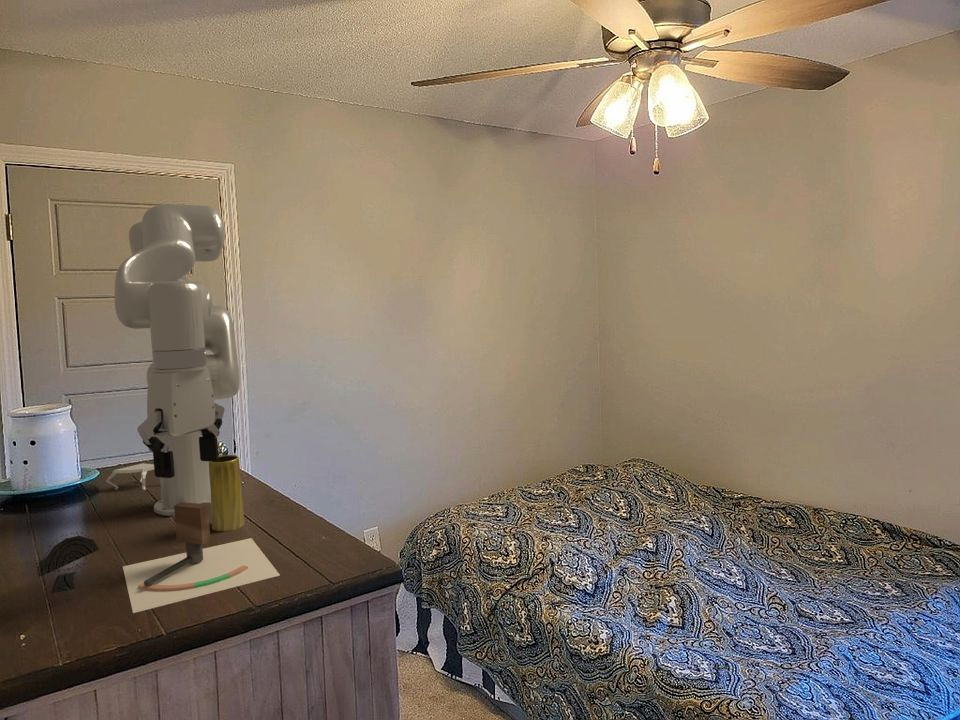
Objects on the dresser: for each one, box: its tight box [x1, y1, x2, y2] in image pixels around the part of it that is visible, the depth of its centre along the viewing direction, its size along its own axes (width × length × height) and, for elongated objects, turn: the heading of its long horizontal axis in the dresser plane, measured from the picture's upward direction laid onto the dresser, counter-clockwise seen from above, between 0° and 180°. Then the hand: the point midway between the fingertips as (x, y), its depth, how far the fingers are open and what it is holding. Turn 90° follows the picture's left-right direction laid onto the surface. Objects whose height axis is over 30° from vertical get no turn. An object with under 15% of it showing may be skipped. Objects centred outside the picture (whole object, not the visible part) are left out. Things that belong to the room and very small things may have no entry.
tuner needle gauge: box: [144, 502, 211, 586], centre depth 100 cm, size 11×5×9 cm, turn 163°
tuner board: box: [122, 537, 281, 614], centre depth 102 cm, size 18×20×2 cm
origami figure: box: [105, 462, 154, 491], centre depth 151 cm, size 12×8×5 cm
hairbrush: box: [41, 532, 100, 594], centre depth 103 cm, size 8×4×25 cm
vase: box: [209, 454, 245, 532], centre depth 120 cm, size 6×6×14 cm
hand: (188, 468), depth 103 cm, fingers open, 9 cm apart
